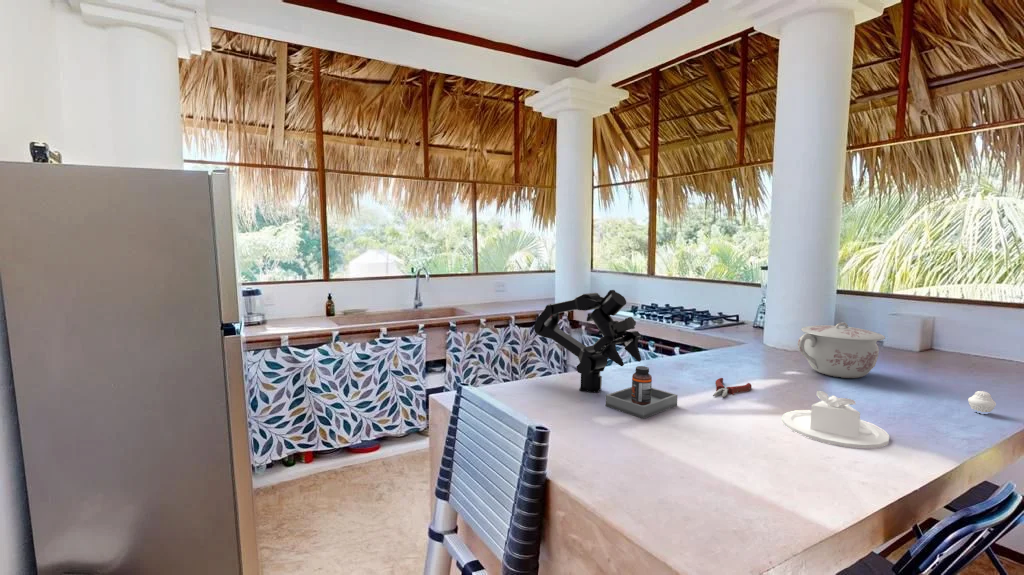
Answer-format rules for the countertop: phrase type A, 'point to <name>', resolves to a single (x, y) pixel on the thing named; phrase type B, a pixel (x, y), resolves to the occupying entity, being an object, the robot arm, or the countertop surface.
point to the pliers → (729, 388)
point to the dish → (835, 424)
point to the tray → (624, 403)
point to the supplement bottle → (641, 386)
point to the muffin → (982, 402)
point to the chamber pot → (840, 349)
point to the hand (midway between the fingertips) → (631, 363)
